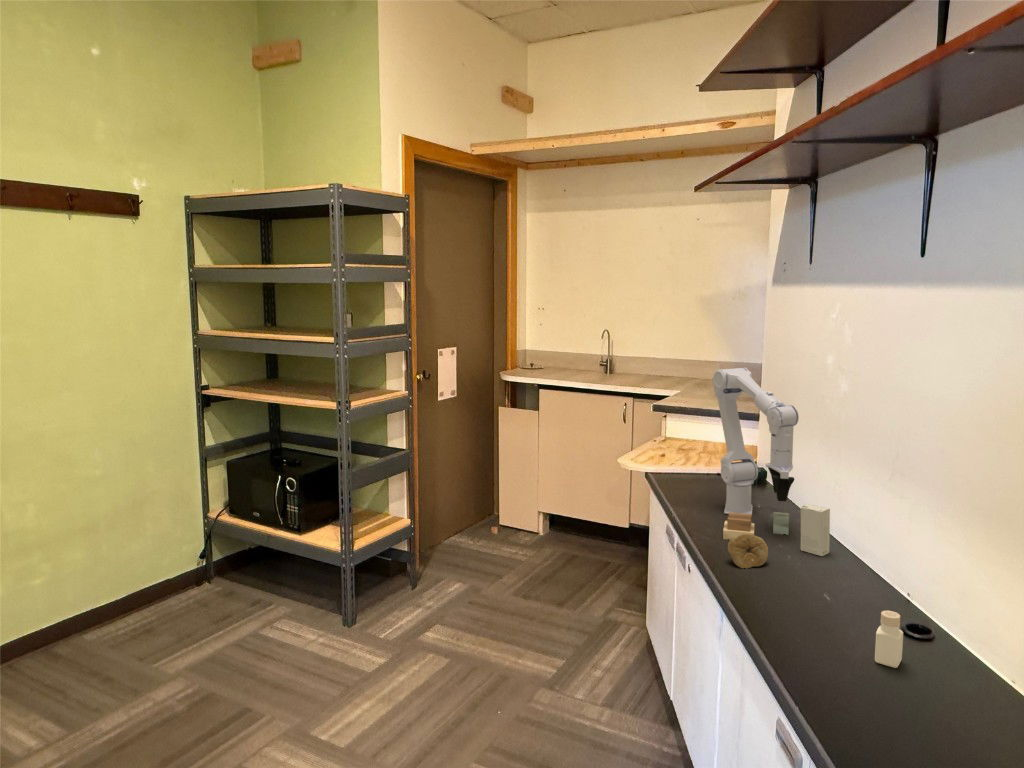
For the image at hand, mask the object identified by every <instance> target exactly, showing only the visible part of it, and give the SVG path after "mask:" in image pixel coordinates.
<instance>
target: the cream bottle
mask: <svg viewBox="0 0 1024 768" xmlns="http://www.w3.org/2000/svg"><path fill="white" fill-rule="evenodd" d="M880 614H881V615H880V625H879V626H878V628H877V630H876V632H875V646H874V648H875V649H874V661H875V662H876V664H881V665H884V666H887V667H890V668H893V669H896V668H898V667H899V665H900V664H901V661H902V659H903V646H904V632H903V630H901V629H900V626H901V614H899V612H896V611H892V610H882V611H881V612H880Z"/></svg>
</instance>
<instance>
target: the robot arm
mask: <svg viewBox="0 0 1024 768" xmlns="http://www.w3.org/2000/svg"><path fill="white" fill-rule="evenodd" d="M712 385H713V386H712V387H713V390H714V395H715V396H714V397H715V398H717V401H718V403H717V405H718V407H719V415H720V420H721V424H722V425H721V426H722V431H723V437H724V441H725V446H726V452H727V453H725V455H724V456H723V457H722V458H721V459H720V476H721V479H722V480H723V482H724V483H725V484H726V493H725V495H726V497H725V498H726V499H725V500H726V501H725V505H724V506H725V507H724V510H723V514H727V515H729V512H733V513H743V514H752V515H753V504H752V485H753V484H755V483H754V482H755V480H756V479H757V478H758V476H759V469H758V466H757V463H756V461H755V458H754V455H753V454H751V453H750V452H748V451H747V450H746V449H745V442H744V437H743V436H744V435H743V431H742V425H741V420H740V415H739V410H738V406H737V405H738V404H737V399H738V397H739V396H741V395H742V394H743V393H745V394H747V395H748V396H749V397H751V398H752V399H753V400H754V406H755V407H756V408H757V409H758V410H759V411H760V412H761V413H763V414H764V416H766V422H767V425H768V431H769V433H770V455H769V457H770V458H769V460H770V461H769V463H768V462H766V463H765V467H766V468H767V469H768V471H769V473H770V475H771V476H770V477H771V481H772V486H773V487H772V488H773V492H774V493H775V494H776V499H777V501H778V502H787V500H788V497H789V493H790V489H791V486H792V485H793V483H794V481H795V477H794V476H789V475H790V474H789V473H790V472H791V471H792V470H793V468H794V465H793V451H794V447H793V445H794V427H795V426H796V425H797V424H798V422H799V418H800V417H799V416H800V415H799V411H798V410H797V409H796V407H795V406H794V405H793V404H789V405H788V404H785V403H784V402H783V401H782V400H780V399H779V398H778V397H777V396H776V395H775V394H774V392H773V391H770V390H763V388H761V386H760V385H759V384H758V383H757V382H756V381H755V380H754V379H753V374H752V371H750V370H749V369H748V368H747V367H745V366H744V367H743V366H742V367H736V368H735V367H734V368H724V369H723V368H717V369H716V370H715V372H714V374H713V377H712Z"/></svg>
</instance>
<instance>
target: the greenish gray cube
mask: <svg viewBox="0 0 1024 768" xmlns="http://www.w3.org/2000/svg"><path fill="white" fill-rule="evenodd" d="M772 527H773V528H772V532H773V534H774V535H783V534H786V536H789V534H790V533H789V531H790V530H789V529H790V528H789V527H790V514H789V513H788V512H778V511H777V512H776V511H773V524H772Z"/></svg>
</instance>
